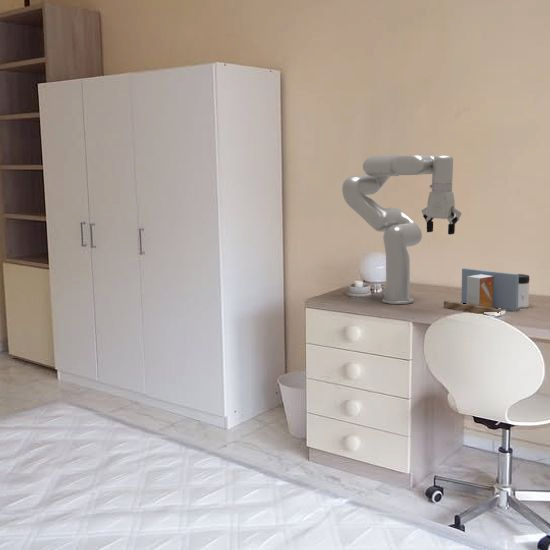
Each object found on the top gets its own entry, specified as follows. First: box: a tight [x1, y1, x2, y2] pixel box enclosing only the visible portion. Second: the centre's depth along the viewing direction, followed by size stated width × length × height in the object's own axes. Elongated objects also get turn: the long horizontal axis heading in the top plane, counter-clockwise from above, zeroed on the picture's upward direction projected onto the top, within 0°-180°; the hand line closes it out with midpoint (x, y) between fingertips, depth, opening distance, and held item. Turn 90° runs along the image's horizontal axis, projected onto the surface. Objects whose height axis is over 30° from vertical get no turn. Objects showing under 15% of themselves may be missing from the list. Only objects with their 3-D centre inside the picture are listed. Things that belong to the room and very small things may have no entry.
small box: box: [467, 274, 493, 308], centre depth 275 cm, size 8×6×13 cm
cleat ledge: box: [443, 300, 502, 314], centre depth 272 cm, size 24×2×2 cm, turn 41°
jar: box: [518, 273, 530, 309], centre depth 279 cm, size 9×8×12 cm
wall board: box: [460, 267, 521, 312], centre depth 279 cm, size 24×3×14 cm, turn 41°
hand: (440, 233), depth 275 cm, fingers open, 9 cm apart
